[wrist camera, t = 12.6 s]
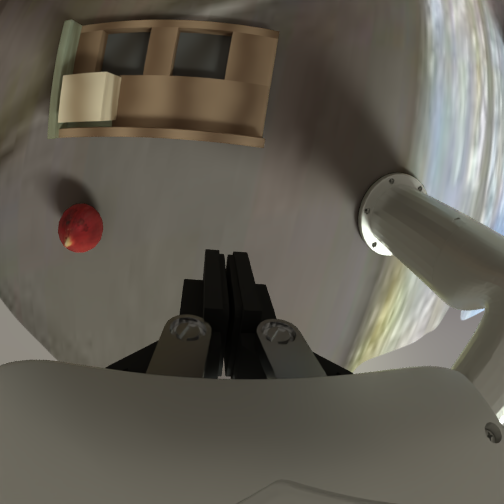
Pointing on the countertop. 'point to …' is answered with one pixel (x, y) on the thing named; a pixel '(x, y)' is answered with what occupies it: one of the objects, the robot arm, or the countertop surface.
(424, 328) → the countertop surface
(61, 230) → the onion
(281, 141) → the countertop surface
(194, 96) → the track
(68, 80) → the block
